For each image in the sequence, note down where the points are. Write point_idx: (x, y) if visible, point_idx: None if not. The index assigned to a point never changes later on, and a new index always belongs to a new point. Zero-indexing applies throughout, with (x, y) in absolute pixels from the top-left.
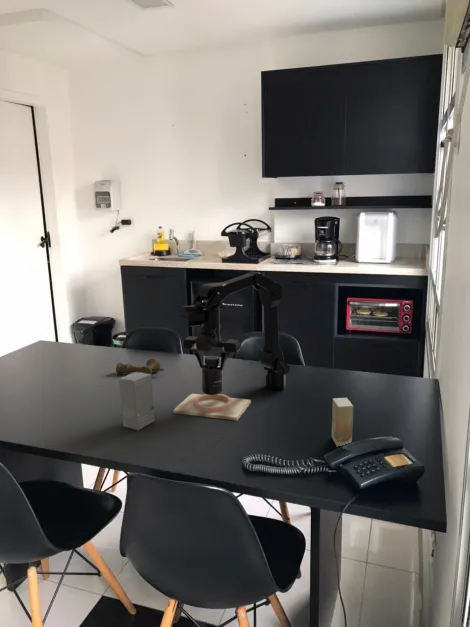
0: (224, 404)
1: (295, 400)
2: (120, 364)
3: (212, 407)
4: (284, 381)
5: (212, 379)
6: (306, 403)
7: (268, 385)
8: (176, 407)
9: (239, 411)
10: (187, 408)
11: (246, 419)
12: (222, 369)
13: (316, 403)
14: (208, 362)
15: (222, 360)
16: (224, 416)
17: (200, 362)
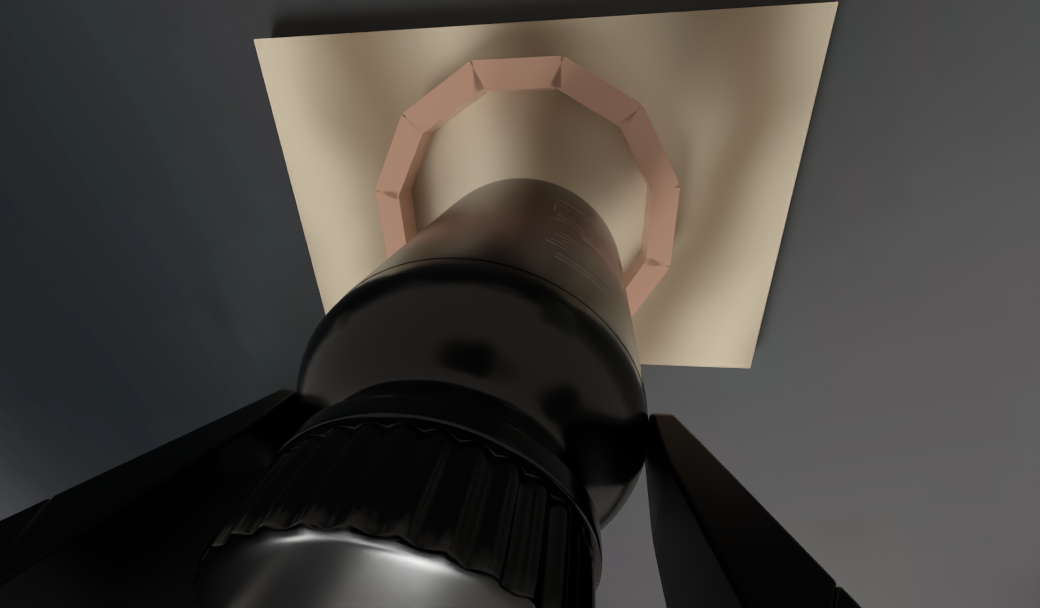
0: (403, 180)
1: (169, 411)
2: None
3: (464, 86)
4: None
5: (427, 230)
6: (107, 389)
7: None
8: (817, 75)
9: (299, 159)
10: (705, 86)
11: (229, 88)
12: (274, 401)
13: (73, 397)
14: (420, 444)
15: (38, 527)
16: (352, 33)
17: (703, 498)
